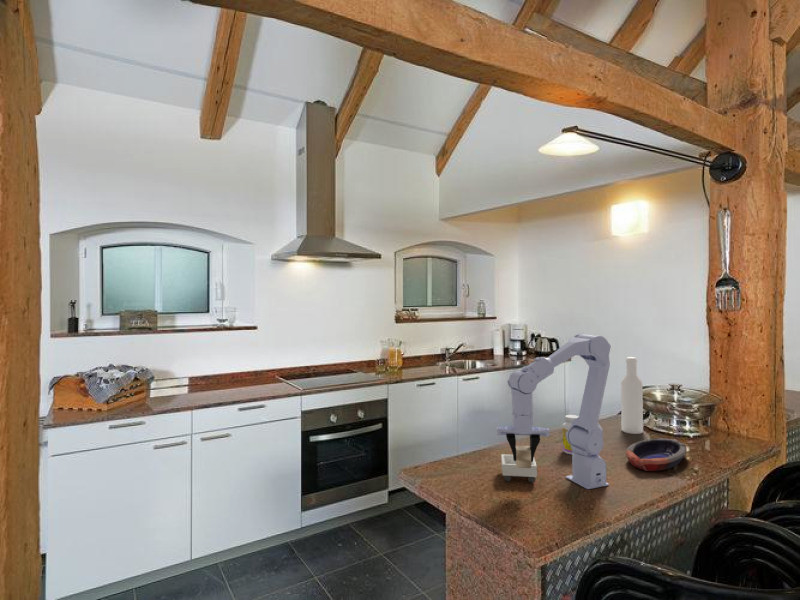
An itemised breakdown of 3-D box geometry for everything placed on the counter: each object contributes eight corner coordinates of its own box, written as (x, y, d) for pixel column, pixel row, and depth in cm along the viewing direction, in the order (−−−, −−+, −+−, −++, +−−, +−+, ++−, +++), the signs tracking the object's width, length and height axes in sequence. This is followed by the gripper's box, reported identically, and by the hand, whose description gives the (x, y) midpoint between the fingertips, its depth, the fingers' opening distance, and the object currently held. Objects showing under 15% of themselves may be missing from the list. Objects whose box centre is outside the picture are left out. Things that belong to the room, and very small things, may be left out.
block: (529, 463, 137) (529, 446, 137) (531, 468, 133) (530, 450, 133) (515, 462, 137) (515, 445, 137) (516, 467, 134) (516, 450, 133)
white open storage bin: (533, 472, 148) (533, 455, 148) (537, 483, 140) (536, 465, 140) (501, 470, 150) (501, 454, 150) (502, 481, 141) (502, 464, 141)
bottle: (647, 433, 187) (646, 358, 187) (629, 434, 186) (628, 359, 186) (634, 427, 195) (634, 355, 195) (617, 429, 194) (616, 356, 194)
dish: (698, 457, 161) (698, 442, 161) (660, 480, 141) (660, 464, 141) (650, 446, 173) (650, 432, 173) (610, 466, 153) (610, 451, 153)
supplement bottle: (566, 448, 172) (566, 413, 172) (585, 451, 167) (584, 415, 167) (560, 453, 167) (559, 416, 166) (578, 456, 162) (578, 419, 162)
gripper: (546, 410, 138) (547, 456, 138) (496, 409, 140) (496, 454, 140) (550, 416, 131) (550, 465, 131) (497, 415, 133) (497, 462, 133)
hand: (523, 460), depth 135 cm, fingers closed on block, 4 cm apart
